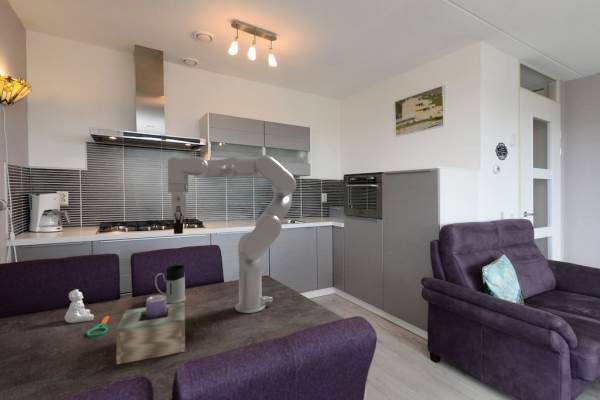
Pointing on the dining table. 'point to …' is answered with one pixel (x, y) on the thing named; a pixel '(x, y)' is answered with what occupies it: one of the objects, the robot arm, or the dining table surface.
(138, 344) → the tissue box
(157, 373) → the dining table surface
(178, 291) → the white pitcher
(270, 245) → the robot arm
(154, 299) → the beverage can
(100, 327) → the magnifying glass
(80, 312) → the white creature statuette
